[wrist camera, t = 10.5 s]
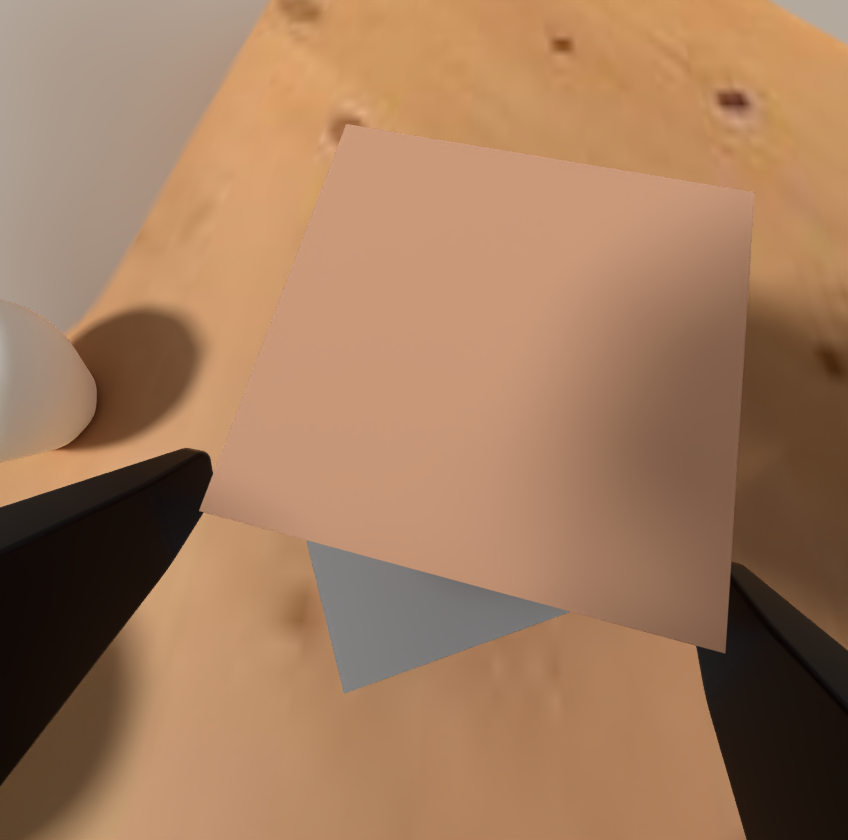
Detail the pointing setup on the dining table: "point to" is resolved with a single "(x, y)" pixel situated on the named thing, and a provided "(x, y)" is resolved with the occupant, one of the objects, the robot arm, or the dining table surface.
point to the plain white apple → (39, 385)
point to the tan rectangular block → (508, 380)
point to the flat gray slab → (407, 615)
